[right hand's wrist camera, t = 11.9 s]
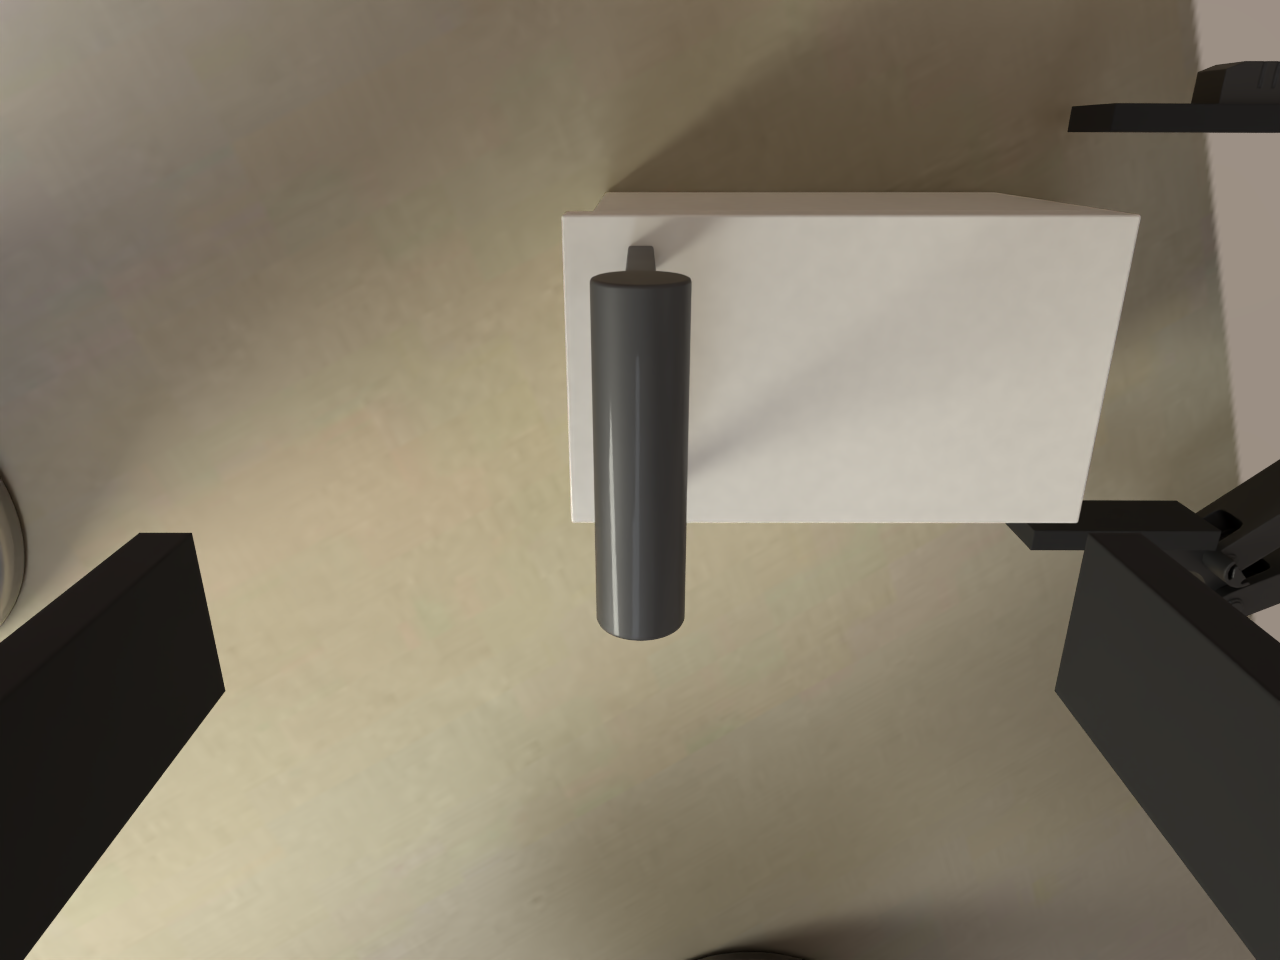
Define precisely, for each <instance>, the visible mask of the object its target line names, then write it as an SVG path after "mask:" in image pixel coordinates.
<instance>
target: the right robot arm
mask: <svg viewBox="0 0 1280 960" xmlns="http://www.w3.org/2000/svg"><path fill="white" fill-rule="evenodd" d="M23 572H24V544H23V536H22V532H21V527H20V522H19V519H18V516H17V513H16V510H15V507H14V505H13V502H12V500H11V498H10V495H9V493H8V491H7V489H6V487H5V485H4V483H3V482H2V480H1V478H0V626H1V625H2V623H3V622H4V621H5V619H6V618H7V617H8V615H9V613H10V612H11V610H12V608H13V606H14V604H15V602H16V600H17V597H18V595H19V591H20V588H21V584H22V580H23ZM224 692H225V687H224V682H223V677H222V673H221V668H220V663H219V659H218V654H217V649H216V644H215V640H214V635H213V630H212V626H211V621H210V616H209V611H208V607H207V602H206V597H205V593H204V588H203V583H202V578H201V574H200V569H199V564H198V560H197V555H196V550H195V545H194V541H193V536H192V533H139V534H138V535H136V536H135V537H134V538H132V539H131V540H130V541H129V542H127V543H126V544H125V545H124V546H122V547H121V548H120V549H119V550H117V551H116V552H115V553H113V554H112V555H111V556H110V557H108V558H107V559H106V560H105V561H103V562H102V563H101V564H99V565H98V566H97V567H96V568H94V569H93V570H92V571H91V572H89V573H88V574H87V575H86V576H84V577H83V578H82V579H80V580H79V581H78V582H77V583H75V584H74V585H73V586H72V587H70V588H69V589H68V590H67V591H65V592H64V593H63V594H61V595H60V596H59V597H58V598H56V599H55V600H54V601H53V602H51V603H50V604H49V605H48V606H46V607H45V608H44V609H42V610H41V611H40V612H39V613H37V614H36V615H35V616H34V617H32V618H31V619H30V620H28V621H27V622H26V623H25V624H23V625H22V626H21V627H20V628H18V629H17V630H16V631H15V632H13V633H12V634H11V635H9V636H8V637H7V638H6V639H4V640H3V641H2V642H1V643H0V960H24V959H25V957H26V956H27V955H28V953H29V952H30V951H31V949H32V948H33V947H34V945H35V944H36V943H37V941H38V940H39V939H40V937H41V936H42V935H43V933H44V932H45V931H46V929H47V928H48V927H49V925H50V924H51V923H52V921H53V920H54V919H55V917H56V916H57V915H58V913H59V912H60V911H61V909H62V908H63V907H64V905H65V904H66V903H67V901H68V900H69V899H70V897H71V896H72V895H73V893H74V892H75V891H76V889H77V888H78V887H79V885H80V884H81V883H82V881H83V880H84V879H85V877H86V876H87V875H88V873H89V872H90V871H91V869H92V868H93V867H94V865H95V864H96V863H97V861H98V860H99V859H100V857H101V856H102V855H103V853H104V852H105V851H106V849H107V848H108V847H109V845H110V844H111V843H112V841H113V840H114V839H115V837H116V836H117V835H118V833H119V832H120V831H121V829H122V828H123V827H124V825H125V824H126V823H127V821H128V820H129V819H130V817H131V816H132V815H133V813H134V812H135V811H136V809H137V808H138V807H139V805H140V804H141V803H142V801H143V800H144V799H145V797H146V796H147V795H148V793H149V792H150V791H151V789H152V788H153V787H154V785H155V784H156V783H157V781H158V780H159V779H160V777H161V776H162V775H163V773H164V772H165V771H166V769H167V768H168V767H169V765H170V764H171V763H172V761H173V760H174V759H175V757H176V756H177V755H178V753H179V752H180V751H181V749H182V748H183V747H184V745H185V744H186V743H187V741H188V740H189V739H190V737H191V736H192V735H193V733H194V732H195V731H196V729H197V728H198V727H199V725H200V724H201V723H202V721H203V720H204V719H205V717H206V716H207V715H208V713H209V712H210V711H211V709H212V708H213V707H214V705H215V704H216V703H217V701H218V700H219V699H220V697H221V696H222V695H223V693H224ZM1055 692H1056V693H1057V695H1058V696H1059V697H1060V699H1061V700H1062V701H1063V703H1064V704H1065V705H1066V707H1067V708H1068V709H1069V711H1070V712H1071V713H1072V715H1073V716H1074V717H1075V719H1076V720H1077V721H1078V723H1079V724H1080V725H1081V727H1082V728H1083V729H1084V731H1085V732H1086V733H1087V735H1088V736H1089V737H1090V739H1091V740H1092V741H1093V743H1094V744H1095V745H1096V747H1097V748H1098V749H1099V751H1100V752H1101V753H1102V755H1103V756H1104V757H1105V759H1106V760H1107V761H1108V763H1109V764H1110V765H1111V767H1112V768H1113V769H1114V771H1115V772H1116V773H1117V775H1118V776H1119V777H1120V779H1121V780H1122V781H1123V783H1124V784H1125V785H1126V787H1127V788H1128V789H1129V791H1130V792H1131V793H1132V795H1133V796H1134V797H1135V799H1136V800H1137V801H1138V803H1139V804H1140V805H1141V807H1142V808H1143V809H1144V811H1145V812H1146V813H1147V815H1148V816H1149V817H1150V819H1151V820H1152V821H1153V823H1154V824H1155V825H1156V827H1157V828H1158V829H1159V831H1160V832H1161V833H1162V835H1163V836H1164V837H1165V839H1166V840H1167V841H1168V843H1169V844H1170V845H1171V847H1172V848H1173V849H1174V851H1175V852H1176V853H1177V855H1178V856H1179V857H1180V859H1181V860H1182V861H1183V863H1184V864H1185V865H1186V867H1187V868H1188V869H1189V871H1190V872H1191V873H1192V875H1193V876H1194V877H1195V879H1196V880H1197V881H1198V883H1199V884H1200V885H1201V887H1202V888H1203V889H1204V891H1205V892H1206V893H1207V895H1208V896H1209V897H1210V899H1211V900H1212V901H1213V903H1214V904H1215V905H1216V907H1217V908H1218V909H1219V911H1220V912H1221V913H1222V915H1223V916H1224V917H1225V919H1226V920H1227V921H1228V923H1229V924H1230V925H1231V927H1232V928H1233V929H1234V931H1235V932H1236V933H1237V935H1238V936H1239V937H1240V939H1241V940H1242V941H1243V943H1244V944H1245V945H1246V947H1247V948H1248V949H1249V951H1250V952H1251V953H1252V955H1253V956H1254V957H1255V959H1256V960H1280V643H1279V642H1278V641H1277V640H1276V639H1274V638H1273V637H1272V636H1270V635H1269V634H1268V633H1267V632H1265V631H1264V630H1263V629H1262V628H1260V627H1259V626H1258V625H1257V624H1255V623H1254V622H1253V621H1252V620H1250V619H1249V618H1248V617H1246V616H1245V615H1244V614H1243V613H1241V612H1240V611H1239V610H1238V609H1236V608H1235V607H1234V606H1232V605H1231V604H1230V603H1229V602H1227V601H1226V600H1225V599H1224V598H1222V597H1221V596H1220V595H1219V594H1217V593H1216V592H1215V591H1213V590H1212V589H1211V588H1210V587H1208V586H1207V585H1206V584H1205V583H1203V582H1202V581H1201V580H1200V579H1198V578H1197V577H1196V576H1194V575H1193V574H1192V573H1191V572H1189V571H1188V570H1187V569H1186V568H1184V567H1183V566H1182V565H1181V564H1179V563H1178V562H1177V561H1175V560H1174V559H1173V558H1172V557H1170V556H1169V555H1168V554H1167V553H1165V552H1164V551H1163V550H1161V549H1160V548H1159V547H1158V546H1156V545H1155V544H1154V543H1153V542H1151V541H1150V540H1149V539H1148V538H1146V537H1145V536H1144V535H1142V534H1141V533H1088V536H1087V541H1086V545H1085V550H1084V555H1083V560H1082V564H1081V569H1080V574H1079V578H1078V583H1077V588H1076V593H1075V597H1074V602H1073V607H1072V611H1071V616H1070V621H1069V626H1068V630H1067V635H1066V640H1065V644H1064V649H1063V654H1062V659H1061V663H1060V668H1059V673H1058V677H1057V682H1056V687H1055Z"/></svg>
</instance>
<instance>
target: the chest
mask: <svg viewBox="0 0 1280 960" xmlns="http://www.w3.org/2000/svg"><path fill="white" fill-rule="evenodd" d="M594 211H1114V210H1107V209H1101V208H1094V207H1088V206H1081V205H1075V204H1068V203H1062V202H1055V201H1049V200H1042V199H1035V198H1029V197H1022V196H1016V195H1009V194H1003V193H996V192H606V193H605V194H604V196H603V197H602V199H601V200H600V202H599V203H598V205H597V206H596V208H595V209H594Z"/></svg>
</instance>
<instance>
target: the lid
mask: <svg viewBox="0 0 1280 960" xmlns="http://www.w3.org/2000/svg"><path fill="white" fill-rule="evenodd" d="M1140 220H1141V216H1140V215H1139V214H1133V213H1126V212H1120V211H567V212H565V213H564V214H563V215H562V249H563V280H564V311H565V342H566V373H567V403H568V434H569V465H570V496H571V521H572V522H573V523H595V556H596V603H597V620H598V622H599V624H600V626H601V627H602V628H603V629H604V630H605V631H606V632H608V633H609V634H611V635H613V636H616V637H619V638H623V639H627V640H637V641H644V640H654V639H659V638H662V637H665V636H668V635H670V634H672V633H674V632H675V631H676V630H678V629H679V628H680V626H681V625H682V623H683V621H684V614H685V569H686V523H1077V522H1078V520H1079V515H1080V511H1081V506H1082V501H1083V496H1084V491H1085V486H1086V482H1087V477H1088V472H1089V467H1090V462H1091V457H1092V452H1093V448H1094V443H1095V438H1096V433H1097V428H1098V423H1099V418H1100V414H1101V409H1102V404H1103V399H1104V394H1105V389H1106V385H1107V380H1108V375H1109V370H1110V365H1111V360H1112V355H1113V351H1114V346H1115V341H1116V336H1117V331H1118V326H1119V322H1120V317H1121V312H1122V307H1123V302H1124V297H1125V292H1126V288H1127V283H1128V278H1129V273H1130V268H1131V263H1132V259H1133V254H1134V249H1135V244H1136V239H1137V234H1138V229H1139V225H1140Z"/></svg>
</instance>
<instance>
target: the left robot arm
mask: <svg viewBox="0 0 1280 960" xmlns="http://www.w3.org/2000/svg"><path fill="white" fill-rule="evenodd" d="M1068 132H1210V133H1211V132H1213V133H1214V132H1215V133H1280V62H1278V61H1244V62H1236V63H1229V64H1220V65H1215V66H1212V67H1210V68H1207V69H1205V70H1202V71H1200V72H1198V74H1197V79H1196V83H1195V88H1194V92H1193V97H1192V101H1191V104H1158V103H1114V104H1100V105H1087V106H1073V107H1072V109H1071V115H1070V121H1069V127H1068ZM1006 524H1007V525H1008V526H1009V528H1010V529H1011V530H1012V531H1013V532H1014V533H1015V534H1016V535H1017V536H1018V537H1019V538H1020V539H1021V540H1022V541H1023V542H1024V543H1025V544H1026V545H1027V546H1028V548H1029V549H1030V550H1085V545H1086V541H1087V536H1088V533H1141V534H1142V535H1144V536H1145V537H1146V538H1148V539H1149V540H1150V541H1151V542H1153V543H1154V544H1155V545H1156V546H1158V547H1159V548H1160V549H1161V550H1163V551H1164V552H1165V553H1167V554H1168V555H1169V556H1170V557H1172V558H1173V559H1174V560H1175V561H1177V562H1178V563H1179V564H1181V565H1182V566H1183V567H1184V568H1186V569H1187V570H1188V571H1189V572H1191V573H1192V574H1193V575H1194V576H1196V577H1197V578H1198V579H1200V580H1201V581H1202V582H1203V583H1205V584H1206V585H1207V586H1208V587H1210V588H1211V589H1212V590H1213V591H1215V592H1216V593H1217V594H1219V595H1220V596H1221V597H1222V598H1224V599H1225V600H1226V601H1227V602H1229V603H1230V604H1231V605H1232V606H1234V607H1235V608H1236V609H1238V610H1239V611H1240V612H1241V613H1243V614H1244V615H1245V616H1248V615H1250V614H1253V613H1256V612H1258V611H1261V610H1263V609H1266V608H1269V607H1271V606H1274V605H1276V604H1279V603H1280V460H1278V461H1277V462H1275V463H1273V464H1272V465H1270V466H1269V467H1267V468H1266V469H1264V470H1263V471H1261V472H1259V473H1258V474H1256V475H1255V476H1253V477H1252V478H1250V479H1248V480H1247V481H1245V482H1244V483H1242V484H1241V485H1239V486H1238V487H1236V488H1234V489H1233V490H1231V491H1230V492H1228V493H1227V494H1225V495H1224V496H1222V497H1220V498H1219V499H1217V500H1216V501H1214V502H1213V503H1211V504H1210V505H1208V506H1206V507H1205V508H1203V509H1202V510H1200V511H1199V512H1197V513H1196V514H1195V513H1194V512H1192V511H1191V510H1189V509H1188V508H1186V507H1185V506H1184V505H1182V504H1181V503H1179V502H1178V501H1104V500H1083V501H1082V506H1081V511H1080V515H1079V520H1078V522H1077V523H1006ZM698 960H803V959H799V958H796V957H792V956H787V955H782V954H775V953H766V952H736V953H727V954H720V955H714V956H710V957H706V958H702V959H698Z"/></svg>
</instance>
